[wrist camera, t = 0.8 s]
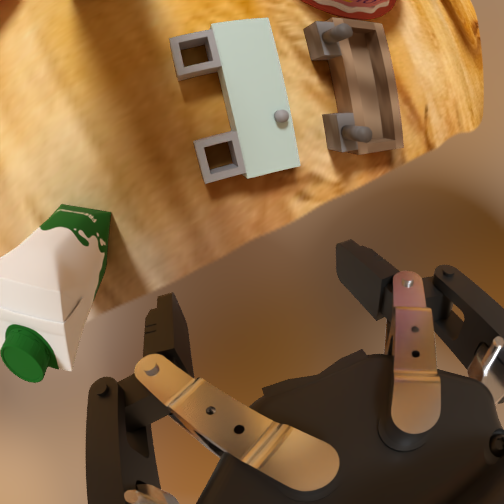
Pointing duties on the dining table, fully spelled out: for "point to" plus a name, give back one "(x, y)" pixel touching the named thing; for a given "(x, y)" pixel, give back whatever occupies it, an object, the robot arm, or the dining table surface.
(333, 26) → the carcass
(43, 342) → the milk carton
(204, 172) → the door
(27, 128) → the dining table surface
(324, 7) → the cake
